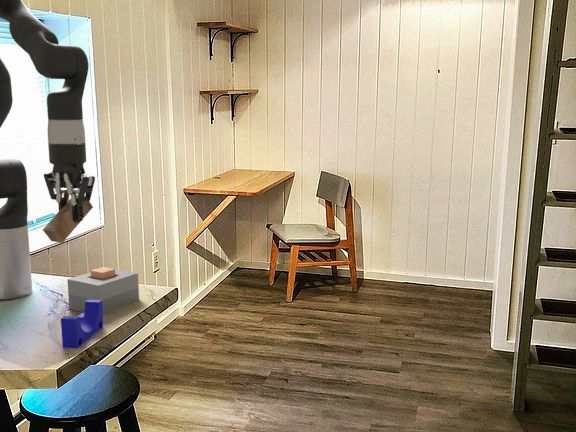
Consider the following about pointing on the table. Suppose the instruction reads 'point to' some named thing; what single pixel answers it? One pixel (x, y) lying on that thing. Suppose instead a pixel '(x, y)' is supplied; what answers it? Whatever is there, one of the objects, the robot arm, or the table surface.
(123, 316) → the table surface
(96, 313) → the blue bent block
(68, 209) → the brown wooden plank
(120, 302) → the box
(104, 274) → the button
